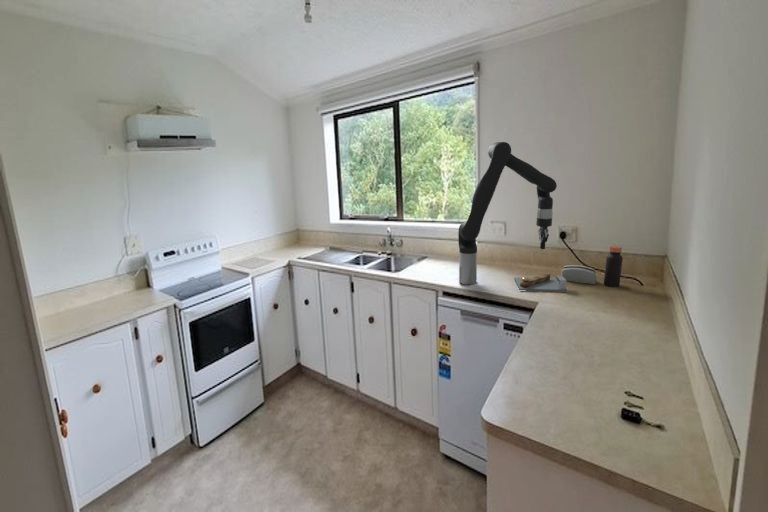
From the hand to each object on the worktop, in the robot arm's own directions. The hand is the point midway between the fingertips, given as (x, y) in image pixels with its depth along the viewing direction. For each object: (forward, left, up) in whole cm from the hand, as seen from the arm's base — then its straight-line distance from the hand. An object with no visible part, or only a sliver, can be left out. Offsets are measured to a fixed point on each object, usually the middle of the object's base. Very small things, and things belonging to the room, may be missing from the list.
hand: (542, 248), depth 198 cm
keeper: (+5, -18, -15) cm, 24 cm away
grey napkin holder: (+17, -5, -17) cm, 25 cm away
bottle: (+31, -11, -17) cm, 37 cm away
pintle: (-12, -18, -12) cm, 25 cm away
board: (-4, -13, -16) cm, 21 cm away
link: (-5, -13, -15) cm, 20 cm away
